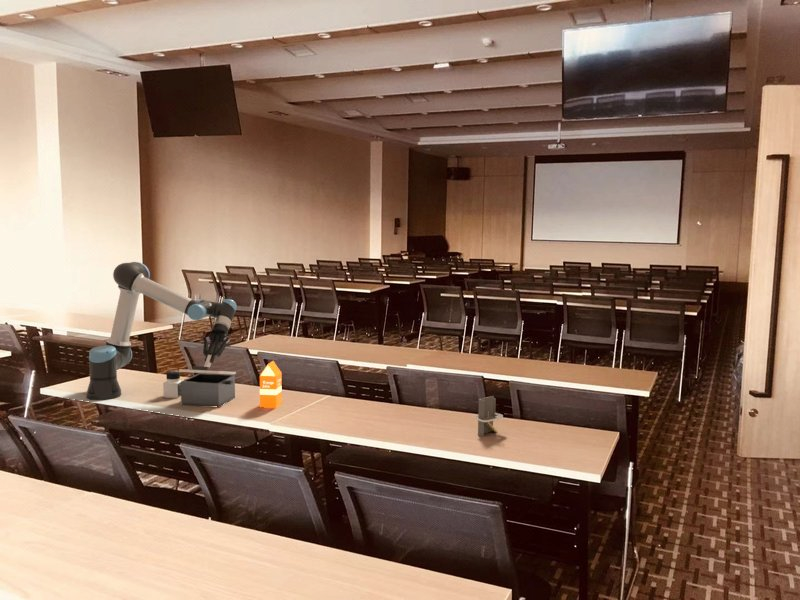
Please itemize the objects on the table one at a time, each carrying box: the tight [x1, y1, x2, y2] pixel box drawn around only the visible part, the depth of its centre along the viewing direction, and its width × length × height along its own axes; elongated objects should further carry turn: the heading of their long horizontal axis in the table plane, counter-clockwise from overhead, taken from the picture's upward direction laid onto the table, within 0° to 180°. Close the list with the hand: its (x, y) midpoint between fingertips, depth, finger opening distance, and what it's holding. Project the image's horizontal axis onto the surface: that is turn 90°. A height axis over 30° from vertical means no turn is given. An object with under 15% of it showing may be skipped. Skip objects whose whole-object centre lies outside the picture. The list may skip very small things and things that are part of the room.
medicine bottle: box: [162, 370, 184, 399], centre depth 305 cm, size 7×7×12 cm
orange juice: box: [259, 360, 283, 409], centre depth 290 cm, size 8×9×20 cm
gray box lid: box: [178, 365, 237, 375], centre depth 295 cm, size 20×19×3 cm
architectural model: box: [475, 395, 504, 437], centre depth 251 cm, size 20×25×15 cm
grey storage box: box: [180, 373, 236, 408], centre depth 295 cm, size 18×23×11 cm
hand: (206, 368), depth 292 cm, fingers closed
